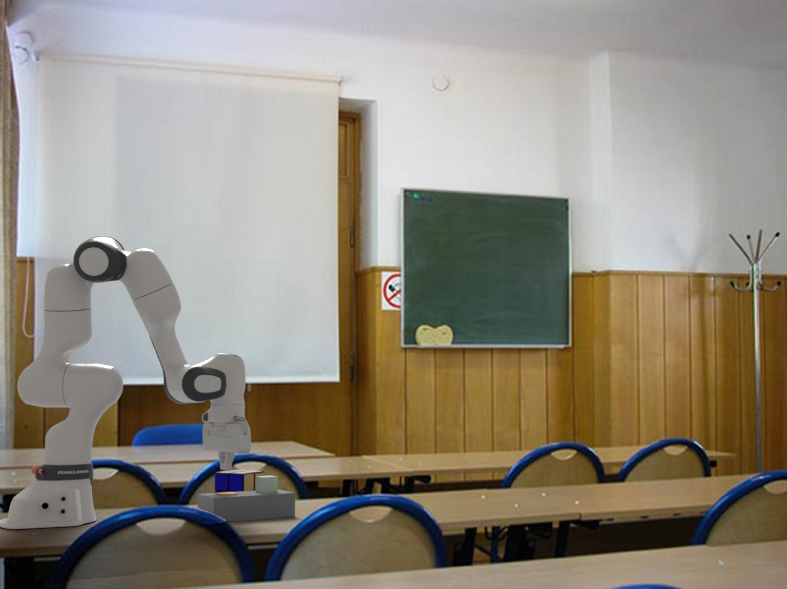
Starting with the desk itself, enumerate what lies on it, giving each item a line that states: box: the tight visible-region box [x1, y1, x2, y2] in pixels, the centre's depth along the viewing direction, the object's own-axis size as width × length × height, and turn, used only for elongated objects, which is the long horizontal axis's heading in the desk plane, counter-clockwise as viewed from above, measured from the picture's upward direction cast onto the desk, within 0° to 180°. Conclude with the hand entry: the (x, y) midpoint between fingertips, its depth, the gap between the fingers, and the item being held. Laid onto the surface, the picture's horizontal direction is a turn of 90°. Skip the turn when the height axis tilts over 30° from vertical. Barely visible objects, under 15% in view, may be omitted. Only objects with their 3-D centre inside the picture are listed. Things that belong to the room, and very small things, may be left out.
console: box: [197, 489, 296, 523], centre depth 238 cm, size 22×11×6 cm, turn 122°
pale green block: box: [256, 475, 279, 494], centre depth 241 cm, size 4×4×6 cm
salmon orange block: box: [216, 492, 238, 496], centre depth 235 cm, size 4×4×6 cm
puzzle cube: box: [214, 469, 266, 493], centre depth 257 cm, size 10×10×10 cm
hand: (225, 469), depth 240 cm, fingers closed
